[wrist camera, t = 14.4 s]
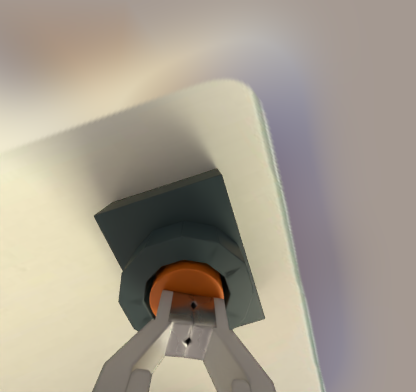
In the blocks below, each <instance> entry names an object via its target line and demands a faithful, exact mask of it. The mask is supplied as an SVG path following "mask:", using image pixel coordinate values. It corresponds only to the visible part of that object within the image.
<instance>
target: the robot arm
mask: <svg viewBox="0 0 416 392" xmlns="http://www.w3.org/2000/svg"><path fill="white" fill-rule="evenodd" d="M164 356H172V357H184V358H191V359H198V360H204V361H203V362H204V364H205V366H206V369H207V371H208V373H209V375H210V377H211V379H212V382H213V384H214V386H215V388H216V390H217V392H276V390H275V387H274V384H273V382H272V380H271V379H270V378H269V376H268V375H267V374H266V373H265V371H264V370H263V369H262V367H261V366H260V365H259V364H258V362H257V361H256V360H255V359H254V357H253V356H252V355H251V353H250V352H249V351H248V350H247V348H246V347H245V346H244V344H243V343H242V342H241V341H240V339H239V338H238V337H237V335H236V334H235V333H234V332H233V330H229V326H228V320H227V314H226V308H225V302H224V299H222V298H214V297H206V296H199V295H192V294H187V293H181V292H175V291H168V290H163V291H162V294H161V298H160V302H159V306H158V310H157V314H156V318H155V320H154V319H152V320H151V321H149V322H148V323H147V324H146V325H145V326H144V327H143V328H142V329H141V330H140V331H139V332H138V333H137V334H135V335H134V336H133V337H132V338H131V339H130V340H129V341H128V342H127V343H126V344H125V345H124V346H123V347H122V348H120V349H119V350H118V351H117V352H116V353H115V354H114V355H113V356H112V357H111V358H110V359H109V360H108V361H106V362H105V363H104V365H103V368H102V370H101V372H100V375H99V377H98V379H97V382H96V384H95V386H94V389H93V391H92V392H149V388H150V383H151V377H152V374H153V372H154V371H155V370H156V368H157V367H158V365H159V364H160V362H161V361H162V360H163V358H164Z"/></svg>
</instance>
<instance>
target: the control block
mask: <svg viewBox="0 0 416 392" xmlns="http://www.w3.org/2000/svg"><path fill="white" fill-rule="evenodd" d="M94 218H95V220H96V221H97V223H98V225H99V227H100V229H101V231H102V233H103V235H104V236H105V238H106V240H107V242H108V244H109V246H110V248H111V250H112V251H113V253H114V255H115V257H116V259H117V261H118V263H119V265H120V266H121V268H122V270H123V272H122V275H121V284H120V293H119V304H120V306H121V307H122V309H123V311H124V313H125V314H126V316H127V318H128V320H129V321H130V323H131V325H132V327H134V329H135V330H137V331H140V330H141V329H142V328H143V327H144V326H145V325H146V324H147V323H148V322H149V321H151V320H152V319H154V320H155V318H156V316H155V315H154V313H153V312H152V309H151V307H150V301H149V297H150V292H151V288H152V285H153V282H154V279H155V276H156V273H157V271H158V270H159V269H160V267H162V266H165V265H168V264H171V263H175V262H178V261H181V260H189V261H195V262H202V263H207V264H208V265H210V266H211V267H212V268H214V269H215V270H216V271H218V272H219V273H220V276H221V282H222V288H223V294H224V302H225V308H226V314H227V320H228V326H229V330H233V329H234V328H236V327H239V326H243V325H246V324H249V323H253V322H256V321H260V320H263V319H265V316H264V313H263V309H262V306H261V303H260V300H259V296H258V293H257V290H256V286H255V283H254V280H253V276H252V273H251V270H250V266H249V263H248V260H247V256H246V253H245V250H244V247H243V243H242V240H241V237H240V233H239V230H238V227H237V223H236V220H235V217H234V213H233V210H232V207H231V203H230V200H229V197H228V194H227V190H226V187H225V184H224V180H223V177H222V174H221V173H220V172H219V170H218V169H214V170H211V171H208V172H205V173H202V174H199V175H196V176H193V177H189V178H186V179H183V180H180V181H177V182H174V183H171V184H168V185H165V186H162V187H159V188H156V189H153V190H150V191H147V192H144V193H141V194H137V195H134V196H131V197H128V198H125V199H122V200H119V201H116V202H113V203H111V204H110V205H108V206H107V207H105V208H104V209H103V210H101V211H100V212H98V213H97V214H96V215H94Z"/></svg>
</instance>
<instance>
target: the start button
mask: <svg viewBox="0 0 416 392" xmlns="http://www.w3.org/2000/svg"><path fill="white" fill-rule="evenodd" d="M163 290H168V291H175V292H181V293H187V294H192V295H199V296H206V297H214V298H222V299H224V294H223V288H222V282H221V276H220V273H219V272H218V271H216V270H215V269H214V268H212V267H211V266H210V265H208V264H207V263H202V262H195V261H189V260H181V261H178V262H175V263H171V264H168V265H165V266H162V267H160V269H159V270H158V271H157V273H156V276H155V279H154V282H153V285H152V288H151V292H150V297H149V301H150V307H151V309H152V312H153V313H154V315H155V316H156V314H157V310H158V306H159V302H160V298H161V294H162V291H163Z"/></svg>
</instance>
